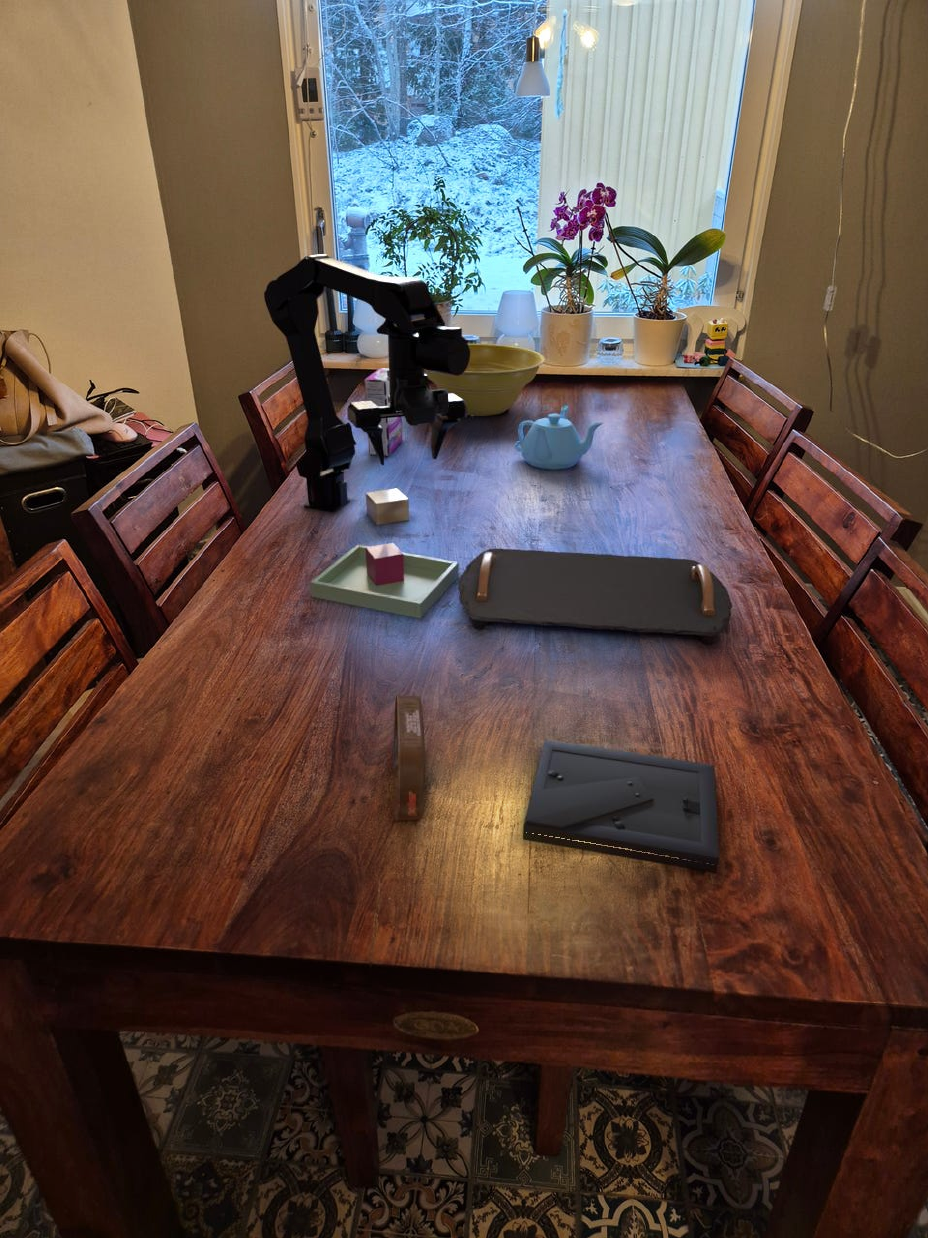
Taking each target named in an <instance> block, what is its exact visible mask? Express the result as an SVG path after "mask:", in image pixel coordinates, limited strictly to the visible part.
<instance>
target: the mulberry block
mask: <svg viewBox="0 0 928 1238" xmlns="http://www.w3.org/2000/svg"><path fill="white" fill-rule="evenodd" d="M403 553H404V552H403ZM403 553H402V551H401V549H399V548H398V546H397V545H396V544H395V543H394V542H391V543H384V544H378V545H372V546H368V547H366V566H367V574H368V576H369V577H370V578H371V580H372V581H373V582H374V584H375V585H376V586H378V585H384V584H389V583H395V582H400V581H404V559H403Z"/></svg>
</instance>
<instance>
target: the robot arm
mask: <svg viewBox="0 0 928 1238" xmlns="http://www.w3.org/2000/svg"><path fill="white" fill-rule="evenodd" d="M428 286H429V285H428V284H427V283H426V282H425V281H423V280H422V279H420V278H415V277H406V276H385V275H381V274H377V273H375V272H372V271H369V270H367V269H363V268H361V267H357V266H355V265H353V264H349V263H347V262H344V261H341V260H339V259H335V258H333V257H332V256H331V255H328V254H325V253H322V254H320V253H319V254H312V255H306V256H304V257H303V258H302V259H300V260H299V262H298V263H297V264H296V265H295V266H293V267H292V268H290V269H288V270H286V271H285V272H283V273H282V274H280V275H279V276H278V277H277V278H276V279H272V280H270V281H269V282H268V283H267V285H266V289H265V291H264V292H263V299H264V303H265V306H266V308H267V309H266V310H267V311H268V314H269V316H270V318H271V322H272V323H273V325H275V327H277V329H278V330H279V331H280V332H281V333H282V334H283V336H284V337H285V338H286V343H287V347H288V350H289V354H290V358H291V361H292V364H293V369H294V372H295V376H296V380H297V383H298V388H299V391H300V395H301V399H302V403H303V406H304V411H305V414H306V416H307V425H306V430H305V433H304V447H305V453H304V454H303V456H302V457H301V458H300V459H299V460H298V461H297V463H296V464H295V467H296V470H297V474H298V475H299V477H302V478H303V479H304V478H305V481H306V482H305V483H306V493H307V502H305V503H304V504H303V508H307V509H311V510H312V509H313V510H319V511H324V512H329V513H331V512H332V513H334V512H336V511H338V510H339V509H340V508H342V507H344V506H345V505H346V504H348V503H349V502H350V501H351V498H350V497H348V485H347V484H348V483H347V480H345V472H344V471H346V470H350V468H351V466H352V465H351V464H352V460H353V458H354V456H355V455H356V445H357V442H356V440H355V438H354V434H353V428H352V425H353V426H354V427H355V428H356V429H360V430H361V431H362V432H364V433H366V434H367V437H368V436H369V438H370V440H371V443H372V445H373V447H374V450H375V452H376V455H375V456H376V458H377V459H378V462H379V464H380V465H381V466H385V456H384V450H383V442H382V432H383V428H382V427H381V426H380V425H379V423H380V422H381V419H383V418H393V417H401V418H402V417H404V419H405V422H406V424H408V425H409V426H413V427H415V426H416V427H417V426H418V425H427V424H428V425H430V426H431V427H430V430H431V431H430V434H431V435H430V444H431V445H430V450H431V457H432V459H433V460H437V459H438V456H439V453H440V452H441V451H440V450H441V448H442V446H443V443H444V440H445V437H446V435H447V433H448V431H449V430H450V428H451V427H452V426H454V425H455V424H459V422H460V420H461V419H466V418H467V417H468V415H467V405H466V403H465V401H464V400H462V399H461V398H459V397H458V396H456V395H455V394H448V392H447V390H446V389H439V390H438V389H431V388H430V386H429V379H428V375H426V374H425V370H428V371H433V372H438V373H444V374H449V375H454V376H459V375H461V374H462V373H463V372H464V371H465V370H466V368H467V366H468V363H469V359H470V349H469V346H468V344H469V343H468V341H467V339H466V338H465V337H464V336H463V329H462V327H458V326H454V327H453V326H452V327H448V326H446V323H445V321H444V318H443V316H442V315H441V313H440V311H439V309H438V307H437V305H436V303H435V301H434V299H433V298H432V296H431V292H430V290H429V288H428ZM327 289H330V290H333V291H335V292H338V293H340V294H343V295H346V296H348V297H351V298H354V299H356V300H359V301H362V302H364V303H366V304H368V305H369V306H371V308H372V310H373V311H374V313H375V314H377V315H379V316H380V317H382V318H383V319H385V320H384V321H383V323H382V324H381V325H380V326H379V327H377V328H376V333H377V334H380V335H383V336H387V351H388V354H387V355H388V368H389V370H387V376H388V377H389V393H390V395H388V402H389V403H390V406H379V407H378V406H377V405H375V404H374V403H373V402H372V401H366V400H362V401H352V402H349V404H348V405H347V409H346V411H347V413H346V414H347V415H346V416H347V420H348V421H349V422H345V423H344V422H343V421H342V420H341V419H340V417H339V416H338V415H337V414H336V409H335V405H334V402H333V398H332V394H331V389H330V387H329V386H330V385H329V383H328V379H327V375H326V371H325V370H326V369H325V366H324V362H323V359H322V355H321V351H320V347H319V343H318V340H317V335H316V326H317V322H318V317H319V304H318V303H319V302H318V300H319V298H320V297H322V295H324V293H326V291H327ZM396 411H397V412H396Z"/></svg>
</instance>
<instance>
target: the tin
mask: <svg viewBox="0 0 928 1238" xmlns="http://www.w3.org/2000/svg"><path fill="white" fill-rule="evenodd" d="M394 703H395V704H394V724H393V725H394V727H393V729H394V730H393V756H392V757H393V811H394V812H393V815H394V821H395V822H398V821H416V820H420V819H422V817H423V815H424V811H423V807H422V806H423V805H422V804H423V793H424V790H425V785H426V784H425V783H426V781H425V780H426V743H425V742H426V741H425V728H424V727H425V725H424V715H423V703H422V698H421V697H420V696H418V695H403V694H402V695H400V694H397V693H396V694H395V702H394Z"/></svg>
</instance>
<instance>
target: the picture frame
mask: <svg viewBox="0 0 928 1238" xmlns="http://www.w3.org/2000/svg"><path fill="white" fill-rule="evenodd" d="M715 772H716V771H715V765H714V764H709V763H703V762H695V761H690V760H683V759H677V758H670V757H664V756H656V755H651V754H644V753H637V752H630V751H623V750H616V749H610V748H603V747H599V746H591V745H584V744H578V743H571V742H565V741H558V740H552V739H544V740H543V743H542V748H541V753H540V756H539V761H538V764H537V769H536V772H535V777H534V781H533V785H532V789H531V792H530V793H531V794H530V797H529V801H528V805H527V810H526V814H525V816H524V817H525V818H524V822H523V828H522V840H526V841H531V842H537V843H541V844H548V845H554V846H559V847H565V848H571V849H577V850H582V851H588V852H594V853H599V854H605V855H609V856H610V855H611V856H618V857H623V858H628V859H634V860H639V861H645V862H652V863H656V864H662V865H669V866H675V867H680V868H685V869H691V870H697V871H698V870H699V871H702V872H708V873H717V871H718V866H719V862H720V844H719V843H720V841H719V826H718V823H719V822H718V809H717V792H716V791H717V790H716V773H715ZM526 832H527V833H526ZM532 833H534V834H532ZM538 834H541V835H538ZM544 835H547V836H544ZM549 836H553V837H549ZM555 837H560V838H555ZM561 838H565V839H561ZM567 839H570V840H567ZM572 840H579V841H585V842H591V843H596V844H602V845H608V846H614V847H621V848H628V849H632V850H636V851H642V852H650V853H654V854H658V855H654V854H648V853H642V852H636V851H630V850H625V849H619V848H613V847H607V846H601V845H596V844H590V843H584V842H578V841H572ZM659 855H668V856H670V857H665V856H659ZM671 857H678V858H679V859H677V858H671ZM682 859H687V860H682ZM688 860H691V861H688ZM694 861H699V862H694ZM700 862H702V863H700ZM706 863H709V864H706ZM711 864H714V865H711ZM717 865H718V866H717Z"/></svg>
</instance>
